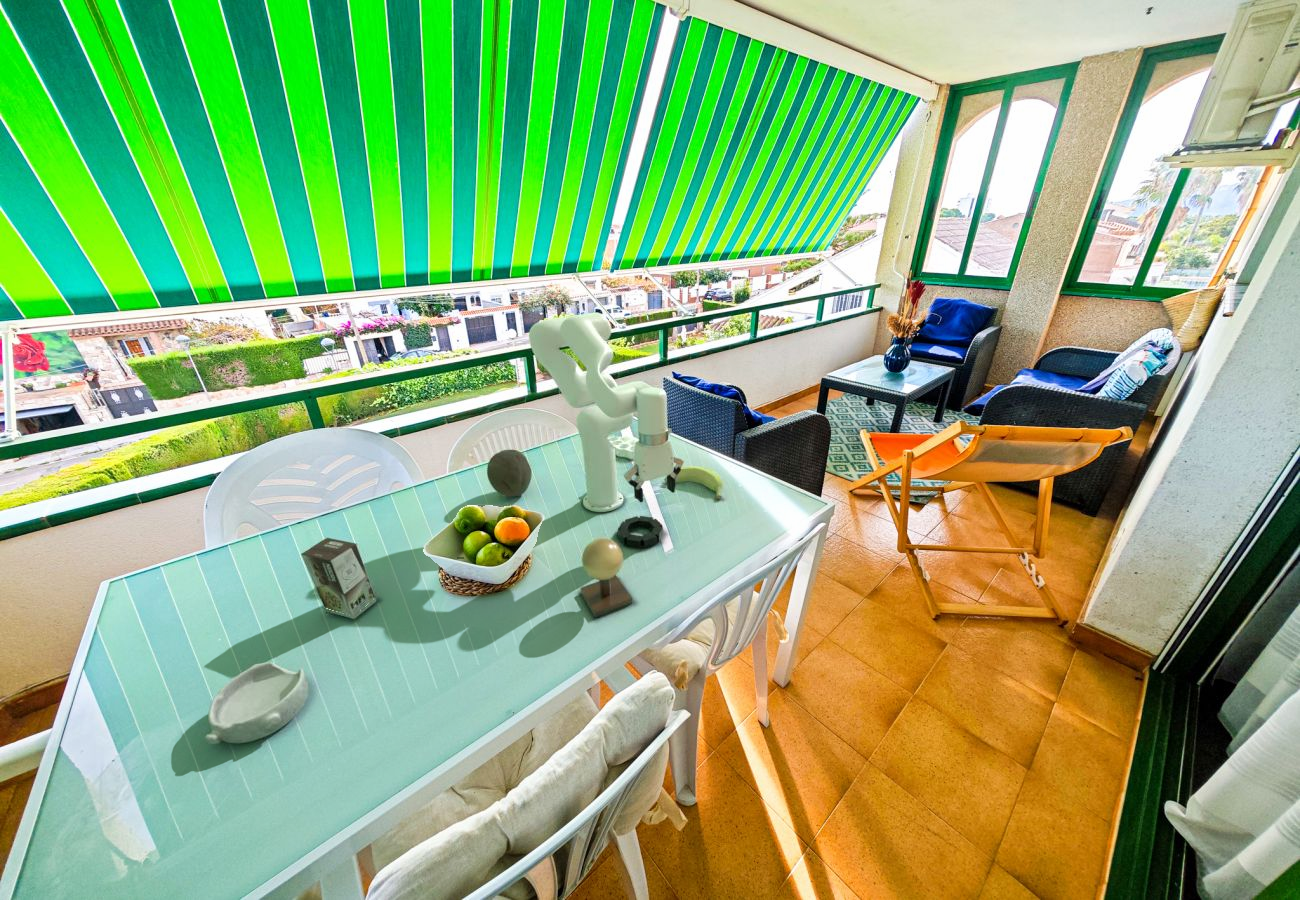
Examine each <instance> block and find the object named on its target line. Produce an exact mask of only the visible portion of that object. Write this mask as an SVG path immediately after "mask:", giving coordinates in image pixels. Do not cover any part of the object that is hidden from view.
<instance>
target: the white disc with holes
mask: <svg viewBox="0 0 1300 900" xmlns="http://www.w3.org/2000/svg"><path fill="white" fill-rule="evenodd" d="M607 438H608V440H609V441H610V442H611V443H612V445H613V446H614V449H615V456H617V457H620V458H627V459H629V460H634V449H635V444H636V442H637V441H639V439H638V438H637V437H635V436H632V435H630V434H626V435H623V436H609V437H607Z"/></svg>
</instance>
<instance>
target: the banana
mask: <svg viewBox="0 0 1300 900" xmlns="http://www.w3.org/2000/svg"><path fill="white" fill-rule="evenodd" d="M664 477H665V478H664V482H665V484H667V475H666V476H664ZM682 482H690V483H691V482H693V483H698V484H701V485H704V486H705V487H707V488H708V489H710V490H712V491H714V492H716V497H715V498H716V499H717V500H722V499H723V497H722V494H721V491H722V489H723V480H722V478H721V476H720V475H719V474H718V473H717V472H715V471H713V470H711V469H710V468H706V467H703V466H696V465H690V466H682V467H681V471H680V472H679V474H678V475H677V478H676V479H675V483H682Z"/></svg>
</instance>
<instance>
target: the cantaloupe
mask: <svg viewBox="0 0 1300 900" xmlns="http://www.w3.org/2000/svg"><path fill="white" fill-rule="evenodd" d="M532 474H533V473H532V467H531V465H530V463H529V461H528V458H527V457H526V455H525V454H524V453H523V452H521V451H519V450H517V449H503V450H500V451H499V452H496V453H495V454H493V455H492V457H491V458H490V459H489V461H488V463H487V468H486V475H487V479H488V482H489V484H490V486H491V487H492V489H493V490H494V491H495V492H497V494H499V495H501V496H503V497H506V496H507V498H514V497H518V496H522V495H523V494H525V493H526V492H527V490H528V488H529V486H530V484H531V481H532Z"/></svg>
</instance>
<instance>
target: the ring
mask: <svg viewBox="0 0 1300 900" xmlns="http://www.w3.org/2000/svg"><path fill="white" fill-rule="evenodd" d="M639 528H642V529H648V530H650V531H651V532H649V533H646V534H643V535H639V534H638V535H637V534H632V533H631V531H634V530H636V529H639ZM617 535H618V536H617V537H618V539H619V540H620V542H621V543H622V544H623V546H626V547H627V548H634V549H642V548H643V549H646V548H650V547H652V546H655V545H657V544H658V543H660V542H661V539H662V537H663V536H664V527H663V524H662V523H661V522H660V521H659V520H658V519H657V518H654V517H652V516H645V515H640V516H638V515H636V516H633V517H629V518H626V519H624V521H622V522H620V525H619V526H618V528H617Z"/></svg>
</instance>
